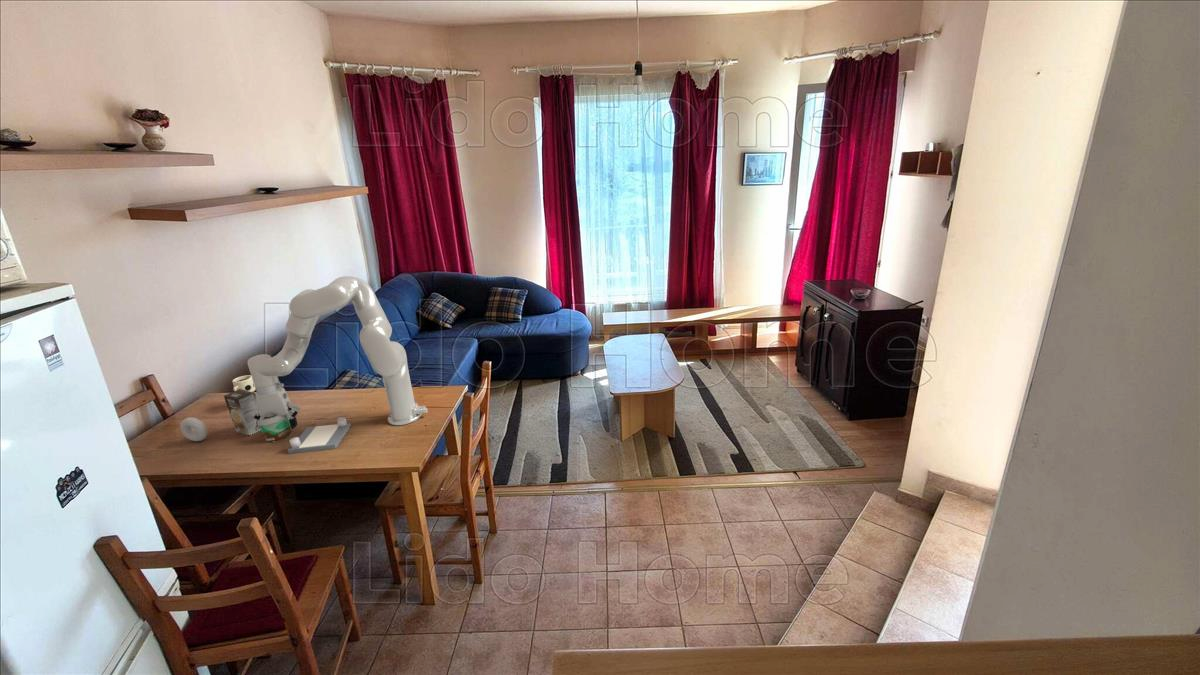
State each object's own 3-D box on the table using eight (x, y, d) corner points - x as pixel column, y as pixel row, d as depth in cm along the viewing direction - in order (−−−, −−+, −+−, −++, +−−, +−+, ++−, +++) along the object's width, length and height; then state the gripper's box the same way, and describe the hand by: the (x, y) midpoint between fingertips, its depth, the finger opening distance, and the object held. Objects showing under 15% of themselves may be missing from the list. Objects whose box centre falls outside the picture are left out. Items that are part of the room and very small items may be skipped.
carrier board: (351, 426, 193) (348, 415, 191) (335, 448, 178) (332, 437, 176) (308, 430, 191) (305, 420, 190) (289, 453, 176) (285, 442, 175)
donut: (183, 442, 188) (173, 419, 185) (191, 437, 192) (182, 415, 188) (205, 443, 187) (196, 420, 183) (213, 439, 190) (204, 416, 186)
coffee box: (235, 432, 194) (222, 395, 188) (251, 424, 199) (239, 388, 194) (249, 436, 190) (236, 399, 184) (266, 428, 195) (254, 391, 190)
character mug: (249, 411, 210) (239, 383, 206) (234, 411, 211) (224, 384, 207) (267, 399, 220) (259, 373, 216) (253, 399, 221) (244, 373, 217)
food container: (278, 445, 182) (270, 421, 179) (264, 444, 183) (255, 420, 180) (303, 428, 194) (296, 405, 190) (289, 427, 195) (282, 404, 191)
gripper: (297, 381, 186) (309, 421, 192) (248, 385, 184) (262, 426, 190) (288, 389, 179) (300, 431, 185) (237, 394, 177) (251, 436, 183)
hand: (281, 428), depth 187 cm, fingers open, 9 cm apart
